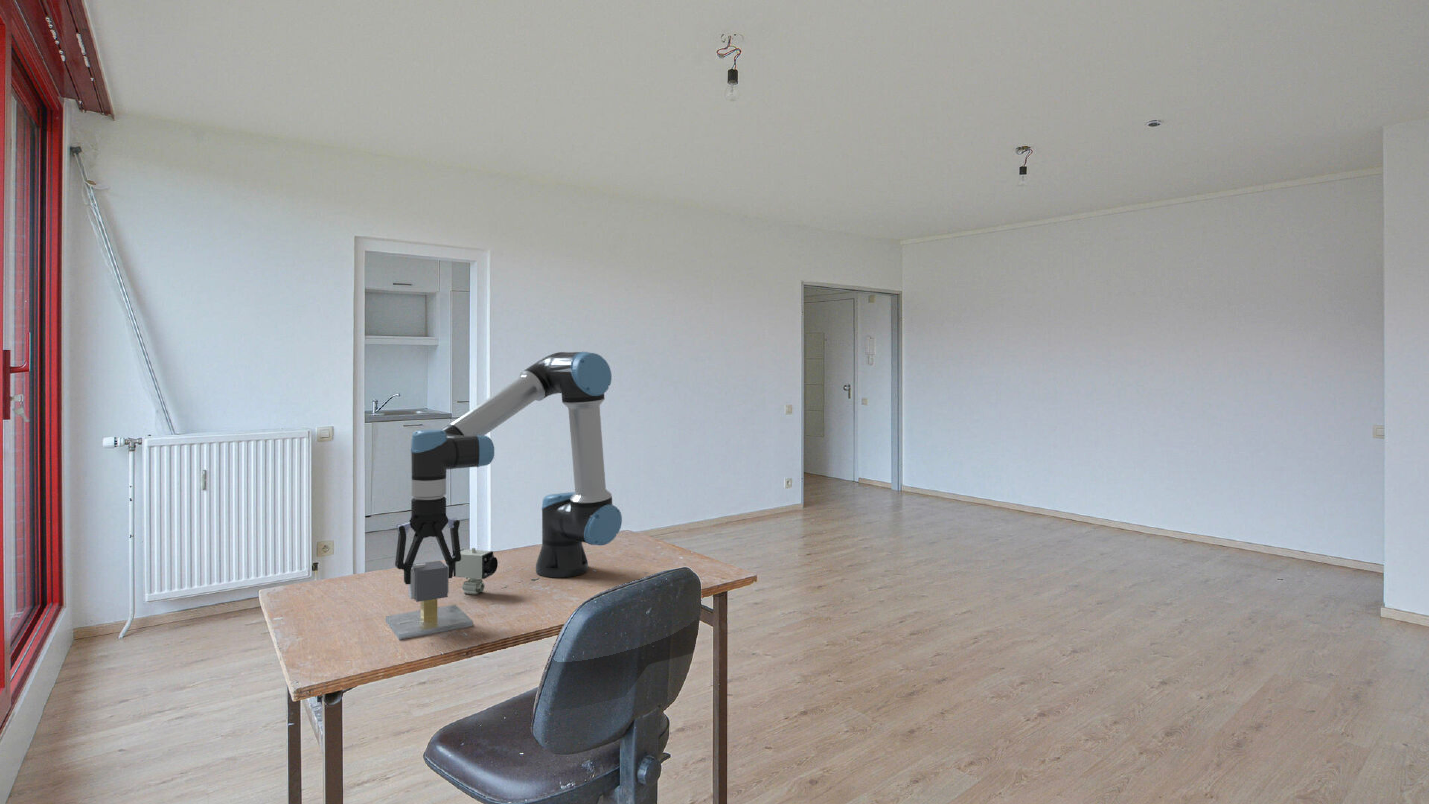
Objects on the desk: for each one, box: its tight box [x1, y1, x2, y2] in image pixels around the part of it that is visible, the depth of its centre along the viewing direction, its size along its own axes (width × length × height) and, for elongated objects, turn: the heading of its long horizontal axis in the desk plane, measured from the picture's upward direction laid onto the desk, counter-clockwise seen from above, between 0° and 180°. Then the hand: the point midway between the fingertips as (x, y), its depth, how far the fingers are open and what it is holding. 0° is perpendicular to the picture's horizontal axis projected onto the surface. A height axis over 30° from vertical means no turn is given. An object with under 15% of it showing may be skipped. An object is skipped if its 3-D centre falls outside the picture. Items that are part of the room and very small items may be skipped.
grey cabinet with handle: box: [412, 560, 449, 603], centre depth 169 cm, size 7×7×8 cm
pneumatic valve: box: [451, 547, 499, 596], centre depth 193 cm, size 6×12×12 cm, turn 78°
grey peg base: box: [385, 599, 474, 641], centre depth 170 cm, size 16×14×7 cm
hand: (428, 594), depth 169 cm, fingers closed on grey cabinet with handle, 7 cm apart
